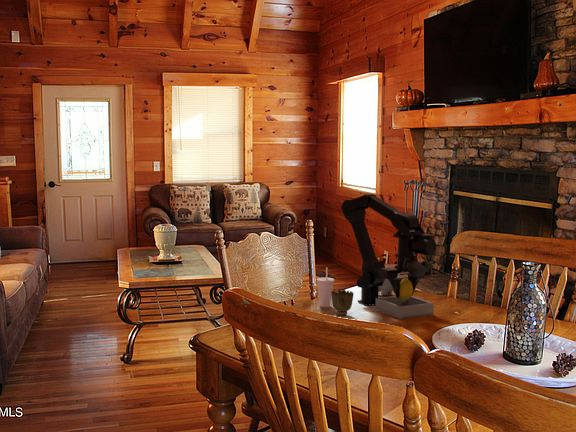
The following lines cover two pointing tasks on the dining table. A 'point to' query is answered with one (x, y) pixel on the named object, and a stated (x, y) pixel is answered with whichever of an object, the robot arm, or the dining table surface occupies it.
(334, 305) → the cup
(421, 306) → the bin
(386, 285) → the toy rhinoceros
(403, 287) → the lemon
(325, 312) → the dining table surface
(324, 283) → the smoothie
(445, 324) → the dining table surface
